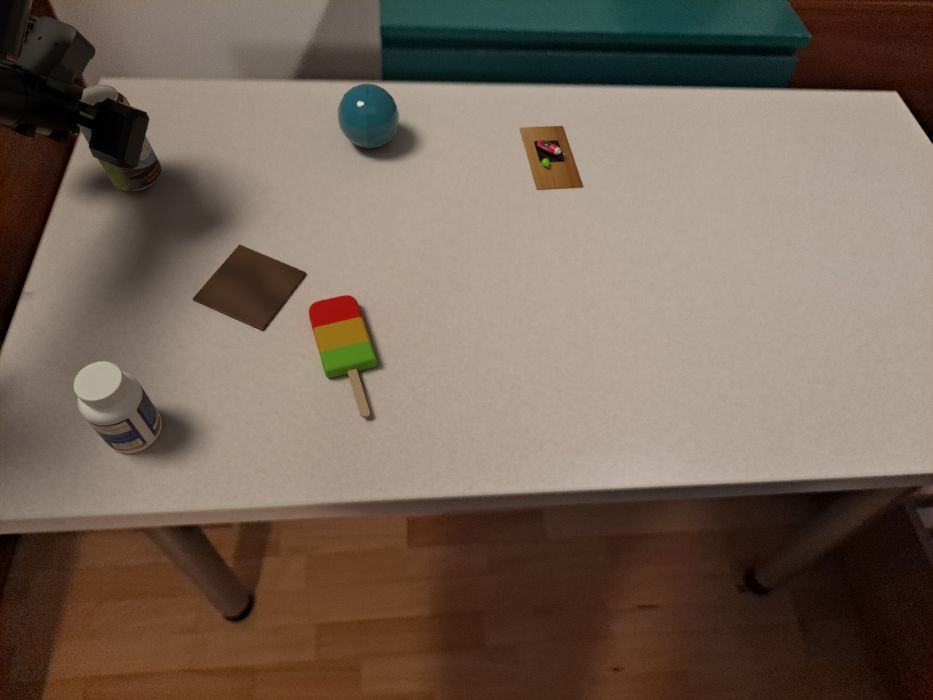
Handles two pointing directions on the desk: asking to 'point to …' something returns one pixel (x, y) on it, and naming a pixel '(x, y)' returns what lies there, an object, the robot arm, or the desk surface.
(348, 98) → the ball
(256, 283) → the coaster
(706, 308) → the desk surface
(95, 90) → the beverage can
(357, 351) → the popsicle
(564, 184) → the board
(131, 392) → the pill bottle
